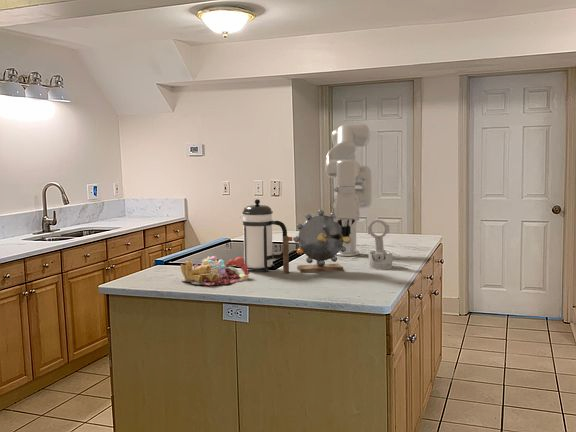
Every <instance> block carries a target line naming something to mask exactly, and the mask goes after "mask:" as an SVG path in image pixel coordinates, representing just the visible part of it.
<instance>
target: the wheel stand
mask: <svg viewBox="0 0 576 432" xmlns="http://www.w3.org/2000/svg"><path fill="white" fill-rule="evenodd" d="M293 237H294V236H288V235H287V236H283V235H282V251H283V257H282V261H283V262H282V264H283V265H282V272H283V274H289V273H290V257H289V256H290V254H289V253H290V252H289V251H290V249H289V248H290V247H289V246H290V245H289V244H290V243H289V242H293V241H294V240H293ZM296 269H297V271H299V272H300V273H305V274H306V273H321V272H322V273H323V272H339V271H340V272H342V271H344V266H342V265H341V264H339V263H325V265H324V266H321V265H319V263H318V260H316V264H303V265H301V264H300V265H299V264H298V265H296Z"/></svg>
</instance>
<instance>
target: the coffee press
mask: <svg viewBox="0 0 576 432" xmlns="http://www.w3.org/2000/svg"><path fill="white" fill-rule="evenodd" d="M260 203H261V200H260V199H258V198H257V199H255V200H254V204H251V205H247V206H245V207H244V208H243V211H242V212H241V215H240V217H239V218H240V219H242V225H243V259H244V261H245V263H244V264H246V265H247V266H248V269H247V270H248V271H249V270H250V269H262V270H263V272H264V273H268V272H269V270H270V269H269V268H271V267H272V266H274V267H275V264H274V263H273V260H276V259H278V260H279V259H283V250H282V251H281V253H279V254H273V226H274V225H275V226H278V227H280V228H281V230H282V237H283V236H288V231H287V226H286V225H285V223H283V222H282V221H279V220H273V212H274V211H273V210H272V208H271V207H270V206H269V205H264V204H260Z"/></svg>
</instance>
